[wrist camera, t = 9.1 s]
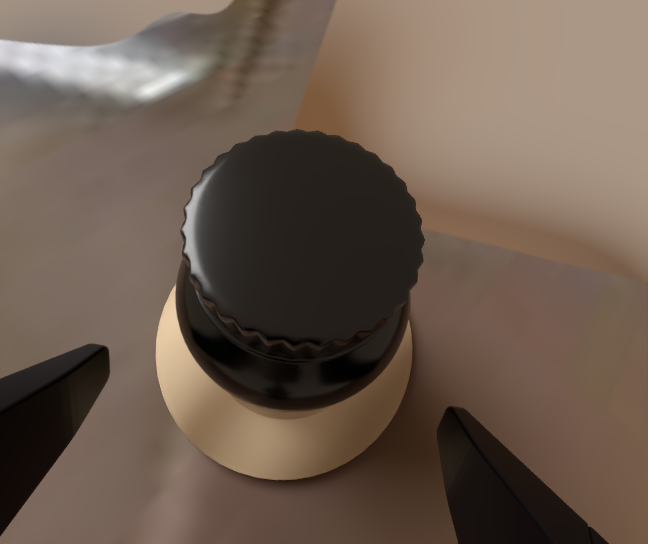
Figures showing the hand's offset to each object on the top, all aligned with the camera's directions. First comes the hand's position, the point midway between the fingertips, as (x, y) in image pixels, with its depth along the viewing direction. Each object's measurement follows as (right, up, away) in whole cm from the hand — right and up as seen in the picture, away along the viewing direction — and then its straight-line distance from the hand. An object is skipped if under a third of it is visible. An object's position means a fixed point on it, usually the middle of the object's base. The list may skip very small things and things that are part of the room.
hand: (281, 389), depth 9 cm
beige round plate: (-1, 0, +9) cm, 10 cm away
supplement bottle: (-1, 0, +9) cm, 9 cm away
